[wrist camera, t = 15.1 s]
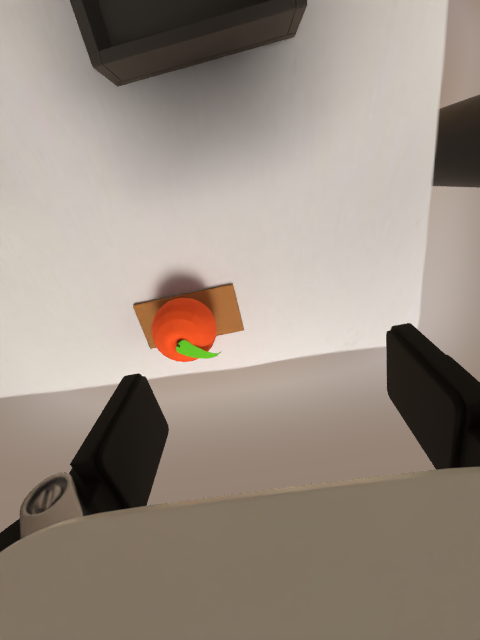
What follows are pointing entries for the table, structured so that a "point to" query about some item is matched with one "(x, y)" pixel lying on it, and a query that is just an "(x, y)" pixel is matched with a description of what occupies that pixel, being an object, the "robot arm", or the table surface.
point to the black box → (177, 32)
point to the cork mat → (215, 299)
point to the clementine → (184, 330)
